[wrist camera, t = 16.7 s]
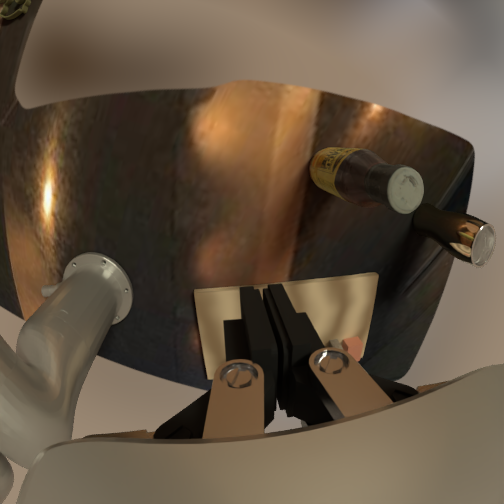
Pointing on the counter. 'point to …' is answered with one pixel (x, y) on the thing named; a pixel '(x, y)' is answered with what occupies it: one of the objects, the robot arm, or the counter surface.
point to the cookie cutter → (20, 1)
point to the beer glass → (456, 233)
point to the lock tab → (353, 347)
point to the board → (303, 300)
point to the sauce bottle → (366, 179)
